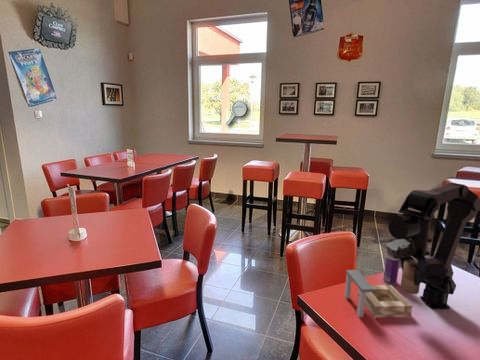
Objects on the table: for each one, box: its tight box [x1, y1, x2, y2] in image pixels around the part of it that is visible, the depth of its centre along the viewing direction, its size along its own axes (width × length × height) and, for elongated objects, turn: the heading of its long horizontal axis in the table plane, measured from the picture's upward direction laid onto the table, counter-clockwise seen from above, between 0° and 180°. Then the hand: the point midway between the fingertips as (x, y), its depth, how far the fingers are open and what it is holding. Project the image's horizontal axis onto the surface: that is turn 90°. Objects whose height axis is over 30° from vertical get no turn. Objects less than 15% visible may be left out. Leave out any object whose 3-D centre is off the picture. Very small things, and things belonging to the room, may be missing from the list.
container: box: [382, 251, 400, 286], centre depth 112 cm, size 5×5×15 cm
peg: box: [400, 259, 421, 295], centre depth 90 cm, size 5×5×9 cm
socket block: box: [357, 284, 413, 319], centre depth 98 cm, size 12×12×4 cm
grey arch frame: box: [344, 269, 375, 318], centre depth 97 cm, size 4×12×10 cm, turn 3°
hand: (410, 280), depth 90 cm, fingers closed on peg, 5 cm apart
